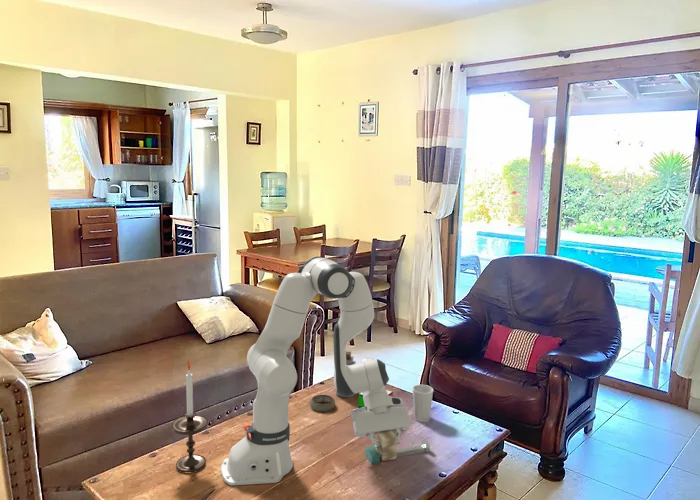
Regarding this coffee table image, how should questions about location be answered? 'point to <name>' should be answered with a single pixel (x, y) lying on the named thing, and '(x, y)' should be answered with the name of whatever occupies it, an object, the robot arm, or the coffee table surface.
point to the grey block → (348, 362)
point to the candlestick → (190, 431)
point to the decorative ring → (322, 407)
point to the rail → (376, 456)
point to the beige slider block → (387, 445)
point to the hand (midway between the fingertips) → (387, 445)
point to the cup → (422, 402)
